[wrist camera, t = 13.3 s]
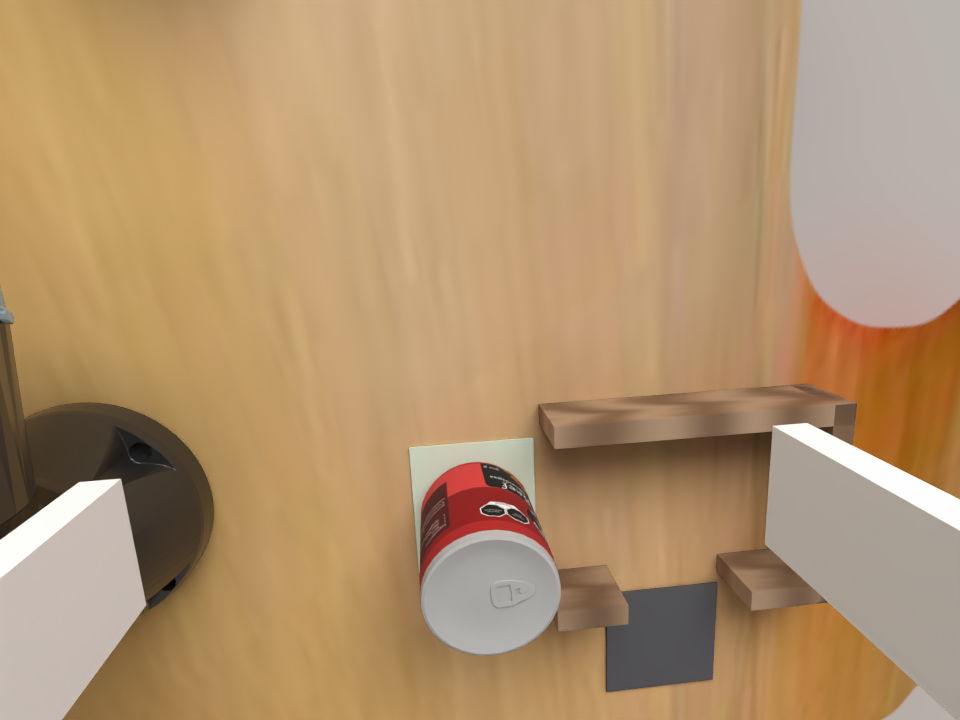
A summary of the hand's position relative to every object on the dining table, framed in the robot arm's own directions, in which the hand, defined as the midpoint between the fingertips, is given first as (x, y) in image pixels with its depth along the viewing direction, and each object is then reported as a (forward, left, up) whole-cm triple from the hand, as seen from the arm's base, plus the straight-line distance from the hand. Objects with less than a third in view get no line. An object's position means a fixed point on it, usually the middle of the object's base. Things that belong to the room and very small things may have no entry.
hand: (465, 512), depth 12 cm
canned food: (+2, -15, -29) cm, 32 cm away
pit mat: (+16, -28, -29) cm, 43 cm away
